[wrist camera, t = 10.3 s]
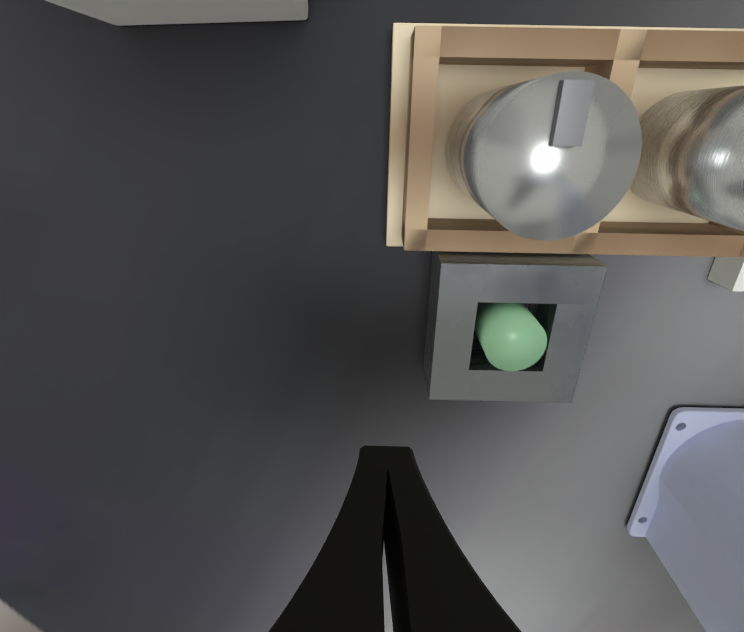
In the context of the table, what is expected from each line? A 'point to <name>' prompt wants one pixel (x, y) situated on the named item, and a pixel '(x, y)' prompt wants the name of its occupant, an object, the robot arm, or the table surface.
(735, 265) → the square tray
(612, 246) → the wooden compartment tray
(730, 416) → the robot arm
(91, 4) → the milk carton
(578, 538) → the table surface
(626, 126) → the cylinder
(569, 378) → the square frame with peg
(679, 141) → the cylinder
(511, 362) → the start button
